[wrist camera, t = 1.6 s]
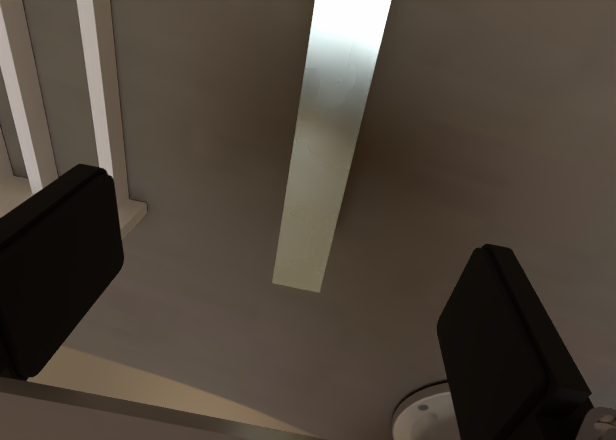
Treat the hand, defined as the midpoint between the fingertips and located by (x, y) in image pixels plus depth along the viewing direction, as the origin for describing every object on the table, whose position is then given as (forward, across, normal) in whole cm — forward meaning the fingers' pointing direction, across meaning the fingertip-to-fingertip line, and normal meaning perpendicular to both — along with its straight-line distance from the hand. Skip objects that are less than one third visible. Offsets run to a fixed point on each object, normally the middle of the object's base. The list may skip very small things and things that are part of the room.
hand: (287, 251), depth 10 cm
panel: (+13, 0, +1) cm, 13 cm away
